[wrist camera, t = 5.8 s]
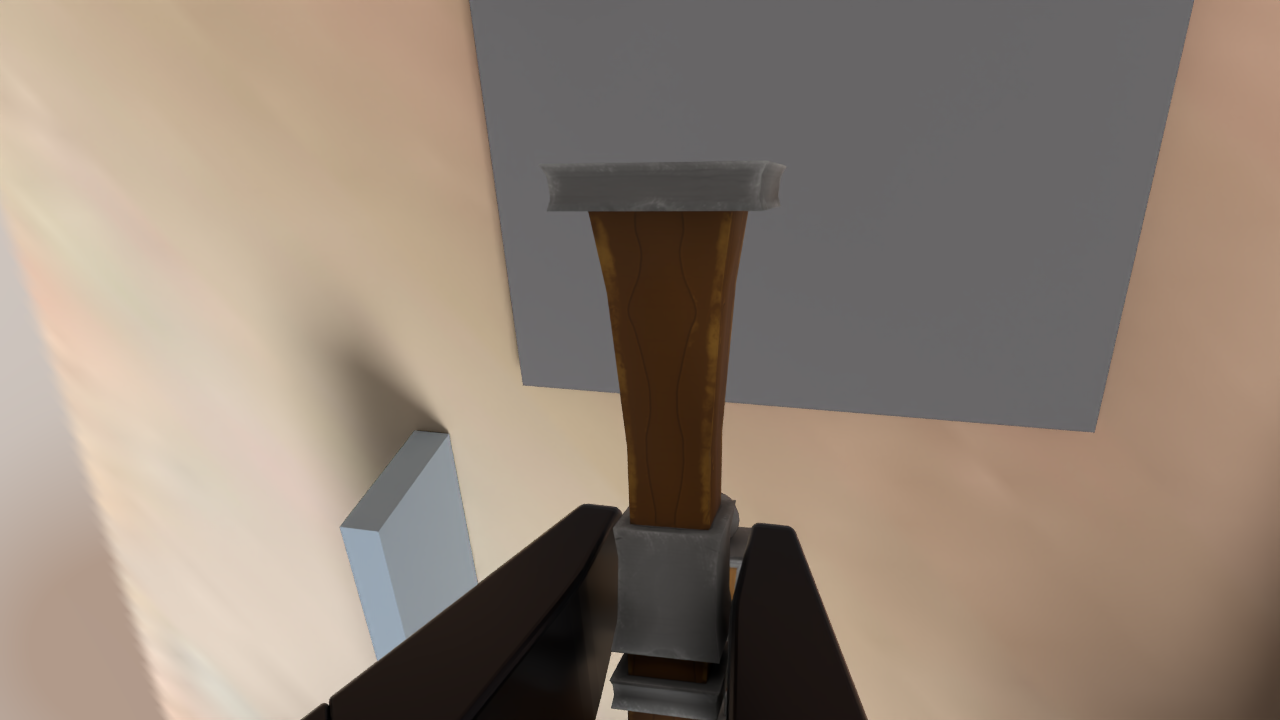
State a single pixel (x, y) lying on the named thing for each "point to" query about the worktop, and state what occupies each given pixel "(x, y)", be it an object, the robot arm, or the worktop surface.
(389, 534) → the open box
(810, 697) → the robot arm
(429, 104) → the worktop surface
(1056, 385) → the mat
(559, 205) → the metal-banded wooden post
